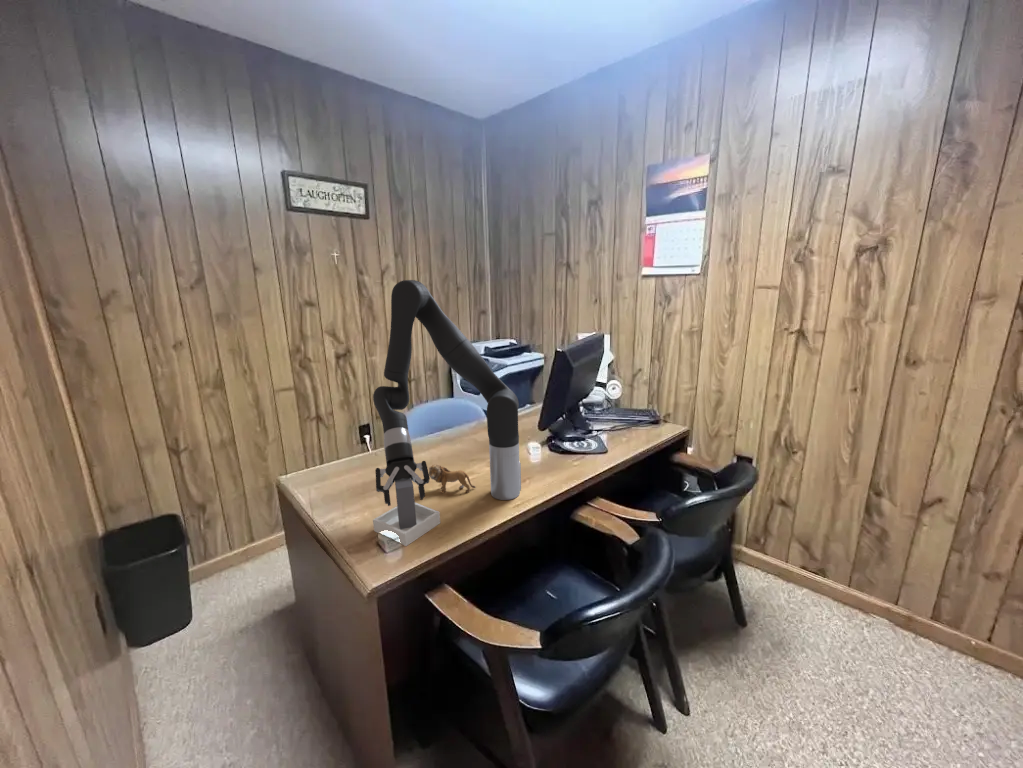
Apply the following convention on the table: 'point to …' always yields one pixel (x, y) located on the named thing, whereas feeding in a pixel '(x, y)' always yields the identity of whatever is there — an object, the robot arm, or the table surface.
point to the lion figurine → (448, 477)
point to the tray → (424, 523)
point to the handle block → (405, 503)
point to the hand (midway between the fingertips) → (405, 501)
